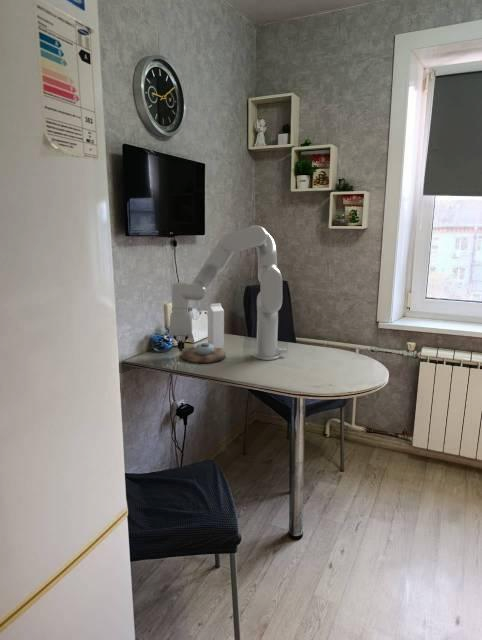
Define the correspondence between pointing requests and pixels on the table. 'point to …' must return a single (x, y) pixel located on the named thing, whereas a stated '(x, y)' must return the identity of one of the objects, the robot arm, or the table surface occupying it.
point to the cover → (205, 349)
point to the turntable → (194, 357)
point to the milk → (216, 325)
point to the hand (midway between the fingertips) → (180, 350)
